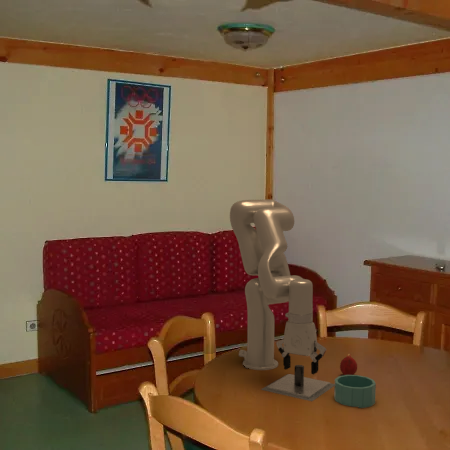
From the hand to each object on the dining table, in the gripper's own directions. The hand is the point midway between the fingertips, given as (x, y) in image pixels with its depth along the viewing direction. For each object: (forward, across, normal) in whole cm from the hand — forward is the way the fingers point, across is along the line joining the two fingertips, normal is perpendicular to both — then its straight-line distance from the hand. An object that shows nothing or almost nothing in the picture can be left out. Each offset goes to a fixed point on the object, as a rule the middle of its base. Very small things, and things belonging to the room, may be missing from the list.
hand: (300, 370), depth 209 cm
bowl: (+6, +18, 0) cm, 19 cm away
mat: (+6, -1, 0) cm, 6 cm away
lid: (+6, -1, 0) cm, 6 cm away
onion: (+6, +8, +20) cm, 22 cm away
